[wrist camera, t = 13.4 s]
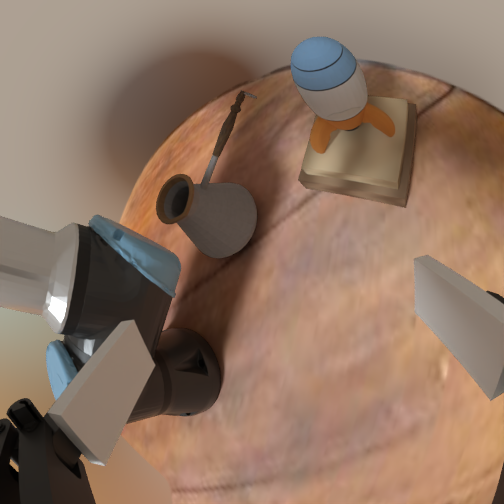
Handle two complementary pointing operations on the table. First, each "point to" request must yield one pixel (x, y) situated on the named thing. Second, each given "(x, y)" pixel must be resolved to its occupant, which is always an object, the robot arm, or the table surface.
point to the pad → (367, 158)
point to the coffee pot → (211, 204)
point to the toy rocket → (334, 90)
